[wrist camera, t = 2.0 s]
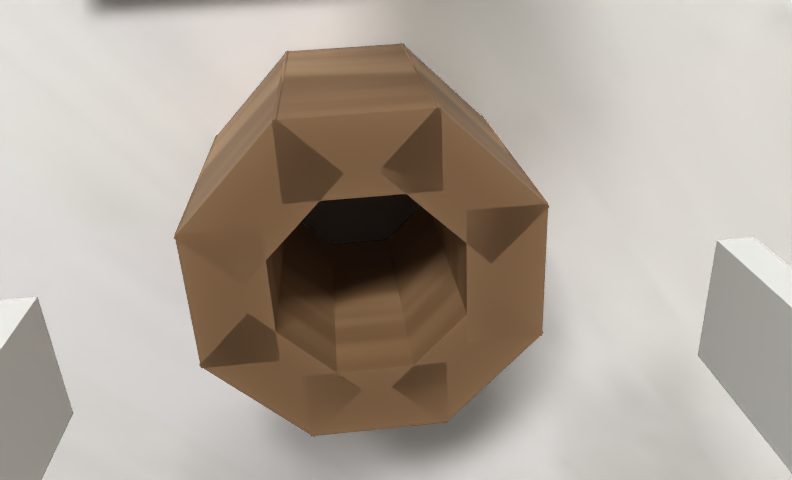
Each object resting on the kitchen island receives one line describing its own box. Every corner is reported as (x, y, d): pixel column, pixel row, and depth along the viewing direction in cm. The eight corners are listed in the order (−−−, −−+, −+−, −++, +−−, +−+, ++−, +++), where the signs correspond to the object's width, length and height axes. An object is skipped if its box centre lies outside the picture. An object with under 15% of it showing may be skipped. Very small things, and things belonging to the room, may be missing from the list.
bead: (482, 280, 25) (539, 413, 18) (241, 302, 24) (215, 446, 18) (483, 37, 21) (554, 97, 15) (202, 56, 20) (152, 127, 14)
